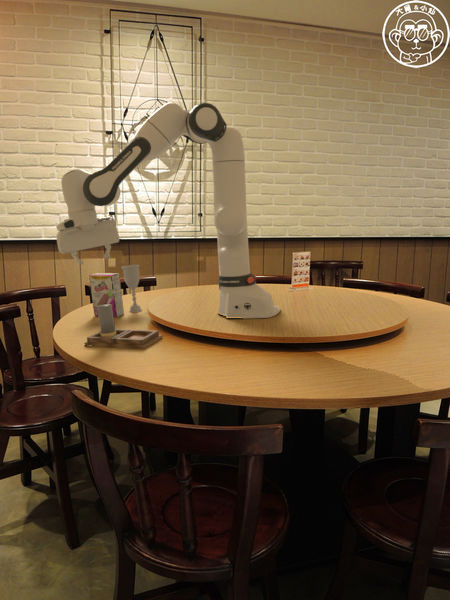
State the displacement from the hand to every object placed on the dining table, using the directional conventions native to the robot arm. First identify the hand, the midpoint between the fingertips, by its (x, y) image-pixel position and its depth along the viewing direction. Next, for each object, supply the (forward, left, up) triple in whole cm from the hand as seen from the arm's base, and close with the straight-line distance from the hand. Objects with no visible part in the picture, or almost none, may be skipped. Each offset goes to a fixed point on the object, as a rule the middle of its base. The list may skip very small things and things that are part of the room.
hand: (94, 261), depth 155 cm
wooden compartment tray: (-17, +13, -23) cm, 32 cm away
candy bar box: (+9, -17, -24) cm, 30 cm away
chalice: (+2, -25, -24) cm, 34 cm away
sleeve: (-11, +13, -22) cm, 28 cm away
